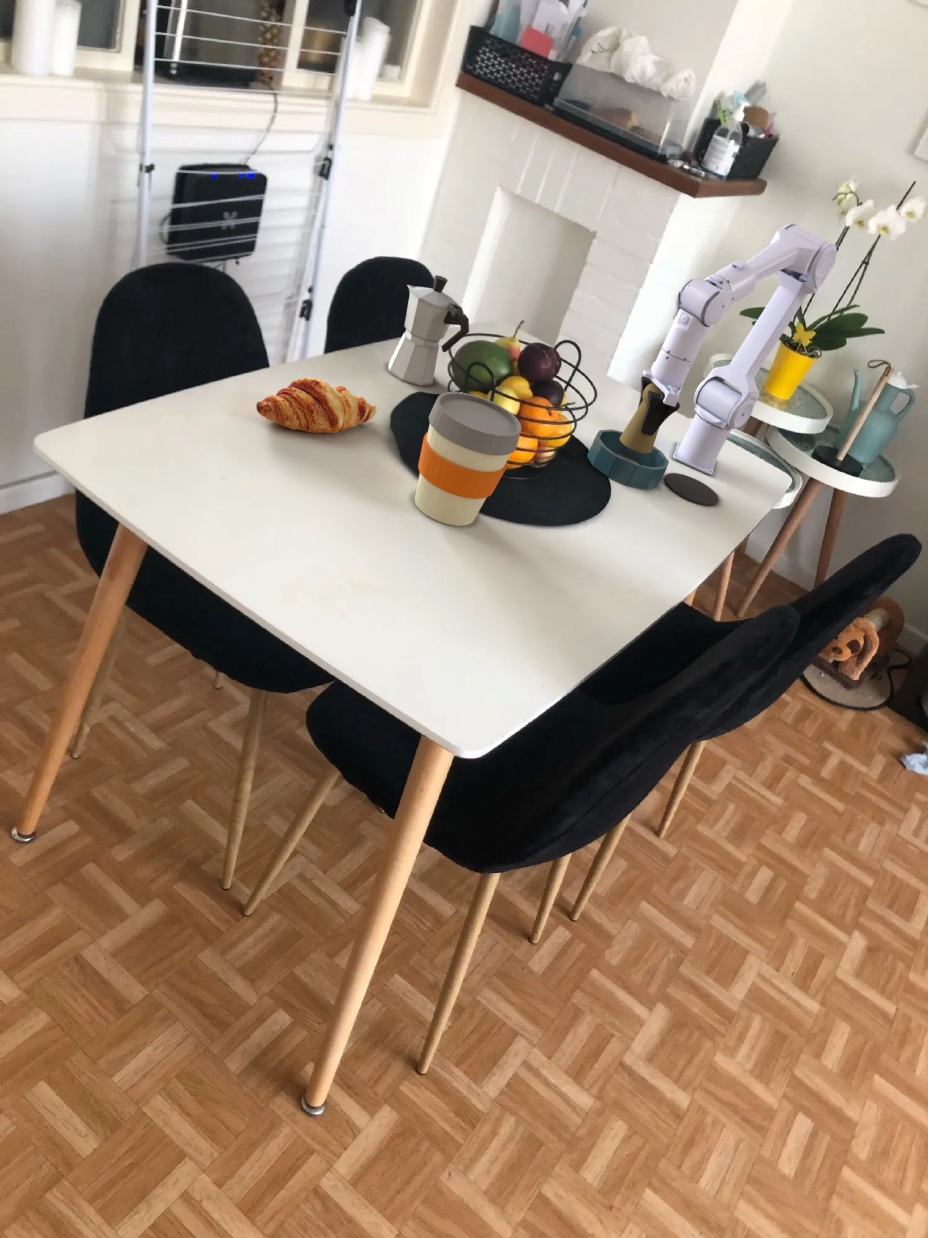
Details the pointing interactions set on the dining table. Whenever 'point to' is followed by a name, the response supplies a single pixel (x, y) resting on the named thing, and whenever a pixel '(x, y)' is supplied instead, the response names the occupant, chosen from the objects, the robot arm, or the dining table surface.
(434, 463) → the reusable coffee cup
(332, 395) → the croissant
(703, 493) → the black mat
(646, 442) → the tan game pawn
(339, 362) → the dining table surface
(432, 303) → the coffee maker
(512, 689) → the dining table surface
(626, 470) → the teal hollow ring
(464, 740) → the dining table surface
